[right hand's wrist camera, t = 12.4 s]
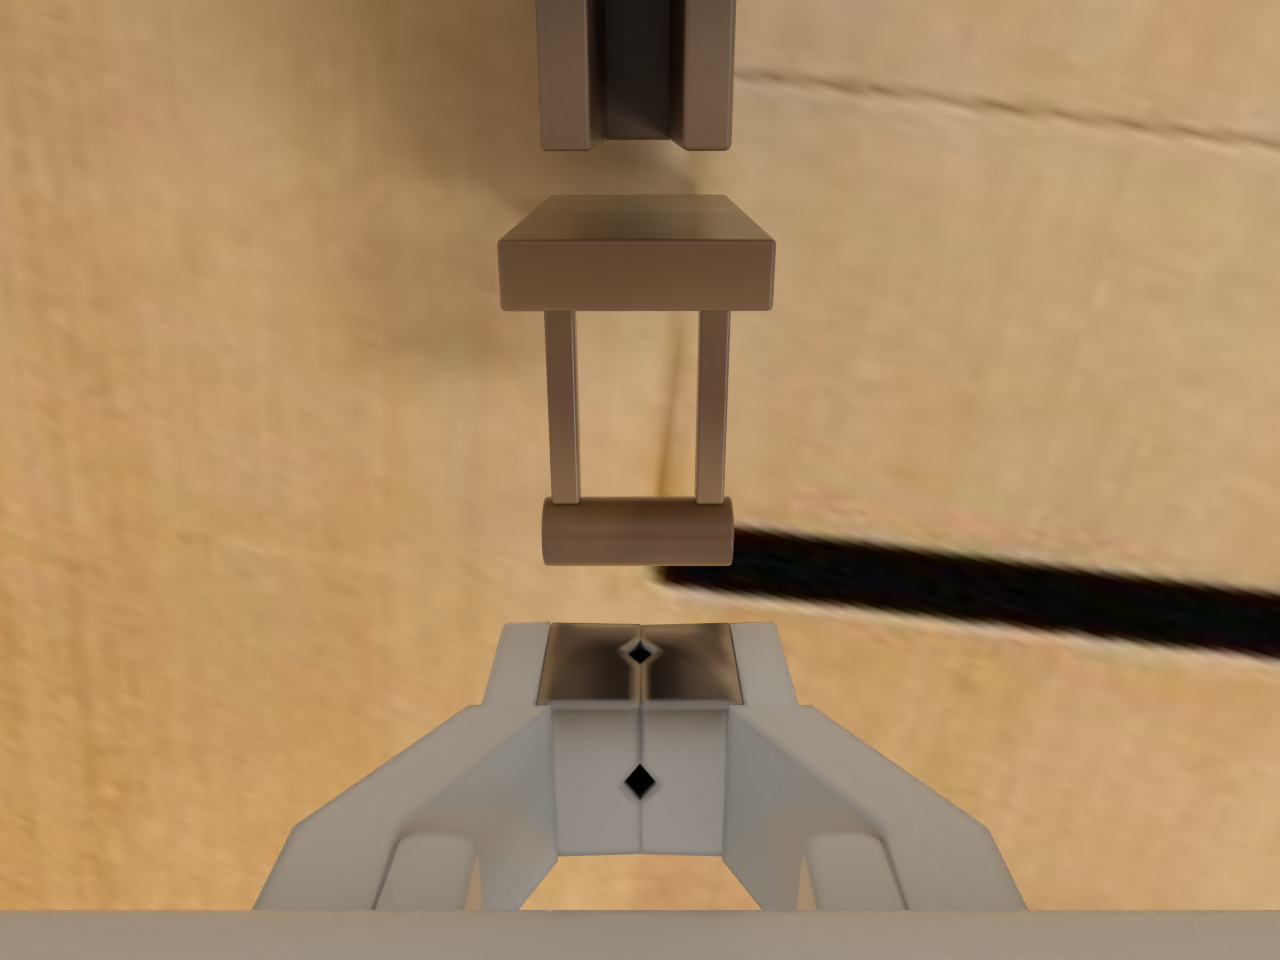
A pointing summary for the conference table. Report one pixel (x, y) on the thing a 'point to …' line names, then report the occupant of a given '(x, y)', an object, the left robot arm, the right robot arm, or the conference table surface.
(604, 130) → the drawer
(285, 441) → the conference table surface
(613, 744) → the right robot arm
